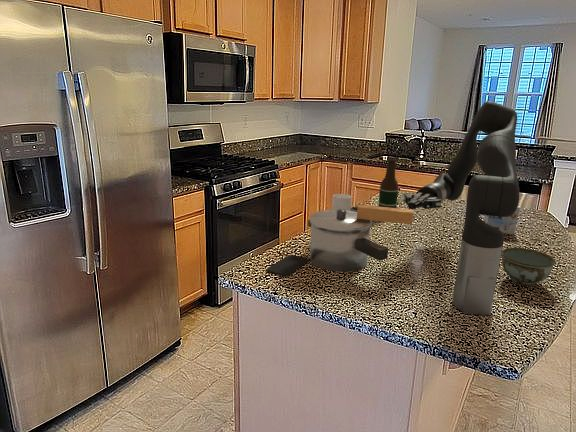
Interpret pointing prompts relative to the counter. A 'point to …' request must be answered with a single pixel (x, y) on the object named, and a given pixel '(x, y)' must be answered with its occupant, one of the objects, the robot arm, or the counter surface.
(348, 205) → the drinking glass
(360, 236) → the pot
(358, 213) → the lid
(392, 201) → the beer bottle
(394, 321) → the counter surface
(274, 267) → the phone
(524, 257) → the bowl
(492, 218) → the light bulb box
